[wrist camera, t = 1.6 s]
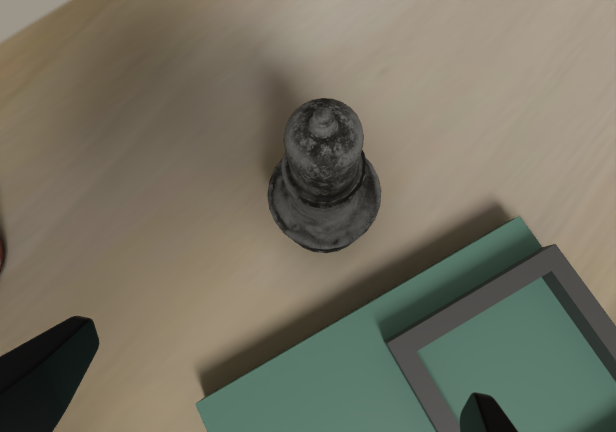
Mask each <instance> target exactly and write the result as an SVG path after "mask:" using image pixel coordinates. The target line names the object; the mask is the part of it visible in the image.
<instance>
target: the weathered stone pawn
mask: <svg viewBox="0 0 616 432" xmlns="http://www.w3.org/2000/svg"><path fill="white" fill-rule="evenodd" d="M363 140H364V135H363V129H362V125H361V122H360V120H359V118H358V116H357V114H356V113H355V112H354V111H353V110H352V109H351V108H350V107H349V106H347V105H346V104H344V103H343V102H340V101H337V100H334V99H327V98H321V99H315V100H311V101H309V102H307V103H304V104H303V105H302V106H300V107H299V108H298V109H296V110H295V112H294V113H293V114H292V115H291V117H290V118H289V121H288V123H287V125H286V128H285V134H284V146H285V154H284V156H283V158H282V160H281V161H280V162H279V164H278V165H277V166H276V167H275V169H274V172H273V174H272V176H271V179H270V181H269V188H268V201H269V209H270V211H271V214H272V216H273V218H274V221H275V223H276V224H277V225H278V226H279V228H280V229H281V230H282V231H283V233H284V234H285V235H287V236H288V237H290V238H291V239H292V240H294V241H295V242H296V243H297V244H299V245H300V246H302V247H303V248H305V249H308V250H311V251H313V252H321V253H329V252H335V251H339V250H341V249H343V248H345V247H348V246H349V245H350V244H351V243H353V242H354V241H355V240H357V239H358V238H359V237H360V236H362V235H363V234H364V233H365V232H366V231H367V230H368V229H369V227H370V226H371V224H372V223H373V222H374V220H375V218H376V216H377V213H378V210H379V207H380V201H381V188H380V183H379V178H378V176H377V174H376V172H375V170H374V168H373V166H372V164H371V163H370V162H369V161H368V160H367V159H366V158H365V154H364V152H363V150H362V148H363Z"/></svg>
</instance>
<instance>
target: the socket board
mask: <svg viewBox="0 0 616 432" xmlns="http://www.w3.org/2000/svg"><path fill="white" fill-rule="evenodd" d="M473 392H477V393H482V394H487V395H490V396H492V397H493V398H494V399H495V400H496V401H497V403H498V404H499V405H500V407H501V408H502V410H503V411H504V412H505V414H506V415H507V417H508V418H509V419H510V421H511V422H512V423H513V425H514V426H515V428H516V429H517V430H518V432H616V326H615V324H614V323H613V322H612V320H611V319H610V318H609V316H608V315H607V314H606V312H605V311H604V309H603V308H602V307H601V305H600V304H599V303H598V301H597V300H596V299H595V297H594V296H593V294H592V293H591V292H590V290H589V289H588V288H587V286H586V285H585V284H584V282H583V281H582V279H581V278H580V277H579V275H578V274H577V273H576V271H575V270H574V269H573V267H572V266H571V264H570V263H569V262H568V260H567V259H566V258H565V256H564V255H563V254H562V252H561V251H560V249H559V248H558V247H557V245H556V244H553V245H549V246H546V247H542V246H541V245H540V244H539V242H538V241H537V239H536V238H535V237H534V235H533V234H532V232H531V231H530V230H529V228H528V227H527V226H526V224H525V223H524V221H523V220H522V219H521V217H520V216H519V217H517V218H515V219H512V220H510V221H508V222H506V223H504V224H503V225H501V226H499V227H498V228H496V229H494V230H492V231H491V232H489V233H487V234H485V235H484V236H482V237H480V238H479V239H477V240H475V241H473V242H472V243H470V244H468V245H466V246H465V247H463V248H461V249H460V250H458V251H456V252H454V253H453V254H451V255H449V256H447V257H446V258H444V259H442V260H441V261H439V262H437V263H435V264H434V265H432V266H430V267H428V268H427V269H425V270H423V271H422V272H420V273H418V274H416V275H415V276H413V277H411V278H409V279H408V280H406V281H404V282H403V283H401V284H399V285H397V286H396V287H394V288H392V289H390V290H389V291H387V292H385V293H384V294H382V295H380V296H378V297H377V298H375V299H373V300H371V301H370V302H368V303H366V304H365V305H363V306H361V307H359V308H358V309H356V310H354V311H352V312H351V313H349V314H347V315H346V316H344V317H342V318H340V319H339V320H337V321H335V322H333V323H332V324H330V325H328V326H327V327H325V328H323V329H321V330H320V331H318V332H316V333H314V334H313V335H311V336H309V337H308V338H306V339H304V340H302V341H301V342H299V343H297V344H295V345H294V346H292V347H290V348H289V349H287V350H285V351H283V352H282V353H280V354H278V355H276V356H275V357H273V358H271V359H270V360H268V361H266V362H264V363H263V364H261V365H259V366H257V367H256V368H254V369H252V370H251V371H249V372H247V373H245V374H244V375H242V376H240V377H238V378H237V379H235V380H233V381H232V382H230V383H228V384H226V385H225V386H223V387H221V388H219V389H218V390H216V391H214V392H213V393H211V394H209V395H207V396H206V397H204V398H203V399H201V400H200V401H199V402H197V403H196V407H197V409H198V411H199V414H200V416H201V418H202V420H203V423H204V425H205V427H206V429H207V432H460V414H461V411H462V409H463V407H464V406H465V404H466V402H467V400H468V398H469V396H470V395H471V394H472V393H473Z"/></svg>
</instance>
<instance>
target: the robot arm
mask: <svg viewBox="0 0 616 432" xmlns="http://www.w3.org/2000/svg"><path fill="white" fill-rule="evenodd" d="M98 347H99V338H98V335H97V331H96V328H95V325H94V322H93V320H92V319H90V318H86V317H81V316H73V317H71V318H69V319H67V320H65V321H63V322H61V323H60V324H58V325H56V326H54V327H53V328H51V329H49V330H47V331H45V332H44V333H42V334H40V335H38V336H36V337H35V338H33V339H31V340H29V341H27V342H26V343H24V344H22V345H20V346H19V347H17V348H15V349H13V350H11V351H10V352H8V353H6V354H4V355H2V356H1V357H0V432H53V430H54V428H55V427H56V425H57V424H58V422H59V421H60V419H61V417H62V416H63V414H64V413H65V411H66V409H67V407H68V405H69V404H70V402H71V400H72V398H73V396H74V394H75V392H76V390H77V388H78V386H79V385H80V383H81V381H82V379H83V377H84V375H85V373H86V371H87V369H88V367H89V365H90V363H91V361H92V360H93V358H94V356H95V354H96V352H97V350H98ZM460 432H518V430H517V429H516V428H515V426H514V425H513V423H512V422H511V421H510V419H509V418H508V417H507V415H506V414H505V412H504V411H503V410H502V408H501V407H500V405H499V404H498V403H497V401H496V400H495V399H494V398H493V397H492V396H490V395H487V394H482V393H477V392H473V393H472V394H471V395H470V396H469V398H468V400H467V402H466V404H465V406H464V407H463V409H462V411H461V414H460Z"/></svg>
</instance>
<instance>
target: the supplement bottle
mask: <svg viewBox="0 0 616 432" xmlns="http://www.w3.org/2000/svg"><path fill="white" fill-rule="evenodd" d="M3 259H4V258H3V247H2V243H1V239H0V271H1V268H2V264H3Z"/></svg>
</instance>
